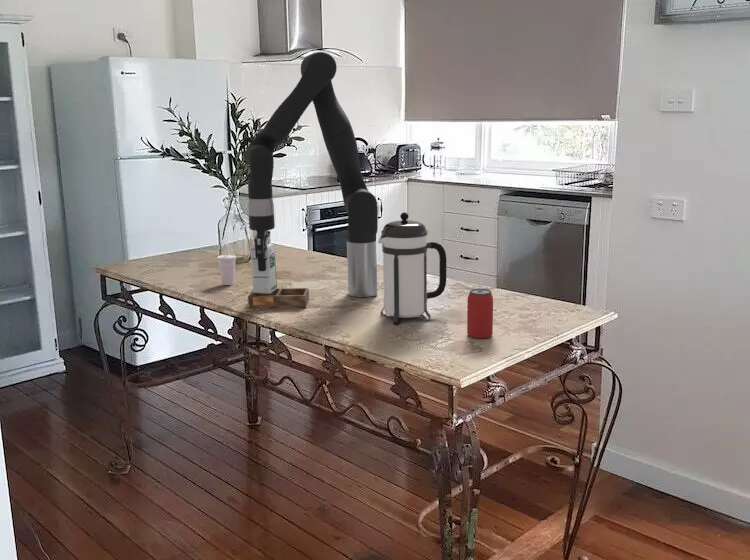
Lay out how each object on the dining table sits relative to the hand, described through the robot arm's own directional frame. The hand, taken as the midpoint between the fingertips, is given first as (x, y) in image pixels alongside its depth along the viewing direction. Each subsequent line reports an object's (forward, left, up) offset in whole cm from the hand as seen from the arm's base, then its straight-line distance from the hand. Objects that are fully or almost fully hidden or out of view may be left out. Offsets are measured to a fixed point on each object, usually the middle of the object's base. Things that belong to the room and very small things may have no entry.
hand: (264, 268), depth 229 cm
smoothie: (+17, -26, -12) cm, 33 cm away
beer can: (-61, +33, -12) cm, 70 cm away
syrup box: (0, 0, -7) cm, 7 cm away
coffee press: (-43, +15, -12) cm, 47 cm away
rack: (-4, 0, -11) cm, 12 cm away
